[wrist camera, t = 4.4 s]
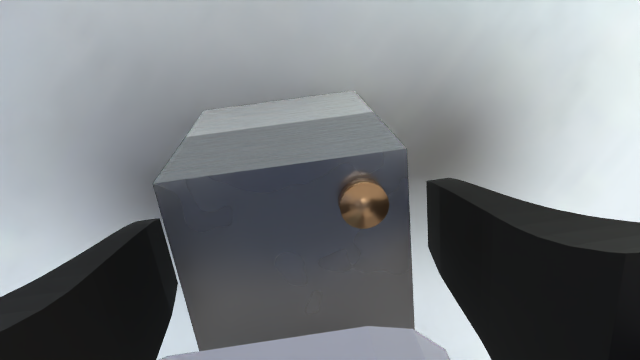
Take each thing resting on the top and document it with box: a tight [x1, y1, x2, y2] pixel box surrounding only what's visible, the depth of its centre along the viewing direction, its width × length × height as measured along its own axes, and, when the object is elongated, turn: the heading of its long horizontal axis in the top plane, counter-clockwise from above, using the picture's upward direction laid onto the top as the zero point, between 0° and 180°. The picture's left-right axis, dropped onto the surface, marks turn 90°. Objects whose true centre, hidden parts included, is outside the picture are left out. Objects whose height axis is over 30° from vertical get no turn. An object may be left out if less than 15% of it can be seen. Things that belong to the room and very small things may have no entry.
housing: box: [153, 91, 414, 351], centre depth 12 cm, size 5×6×6 cm
